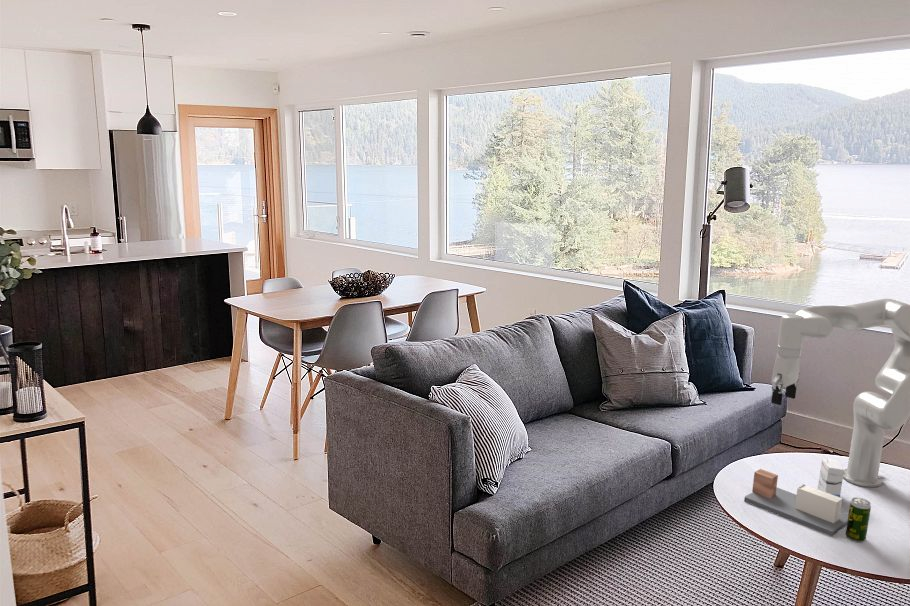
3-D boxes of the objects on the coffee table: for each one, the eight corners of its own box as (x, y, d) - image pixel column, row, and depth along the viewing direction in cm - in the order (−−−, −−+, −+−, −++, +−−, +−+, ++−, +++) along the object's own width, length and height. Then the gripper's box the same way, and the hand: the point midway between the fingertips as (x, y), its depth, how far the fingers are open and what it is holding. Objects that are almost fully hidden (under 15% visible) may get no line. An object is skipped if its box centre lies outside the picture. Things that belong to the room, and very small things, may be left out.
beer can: (850, 531, 224) (855, 495, 221) (868, 539, 220) (874, 502, 217) (842, 537, 221) (847, 500, 218) (860, 545, 217) (866, 507, 214)
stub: (758, 488, 248) (760, 468, 246) (775, 494, 243) (778, 475, 242) (752, 491, 245) (754, 472, 244) (769, 498, 241) (772, 478, 239)
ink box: (840, 503, 242) (844, 469, 239) (823, 501, 243) (828, 468, 240) (832, 491, 250) (837, 458, 247) (816, 489, 251) (821, 457, 248)
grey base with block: (766, 487, 251) (769, 464, 249) (852, 520, 231) (856, 494, 229) (744, 501, 242) (746, 476, 240) (832, 536, 221) (836, 510, 219)
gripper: (790, 344, 252) (784, 392, 256) (765, 353, 241) (759, 403, 245) (812, 349, 246) (806, 398, 250) (788, 359, 235) (781, 409, 239)
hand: (783, 400), depth 247 cm, fingers open, 9 cm apart
